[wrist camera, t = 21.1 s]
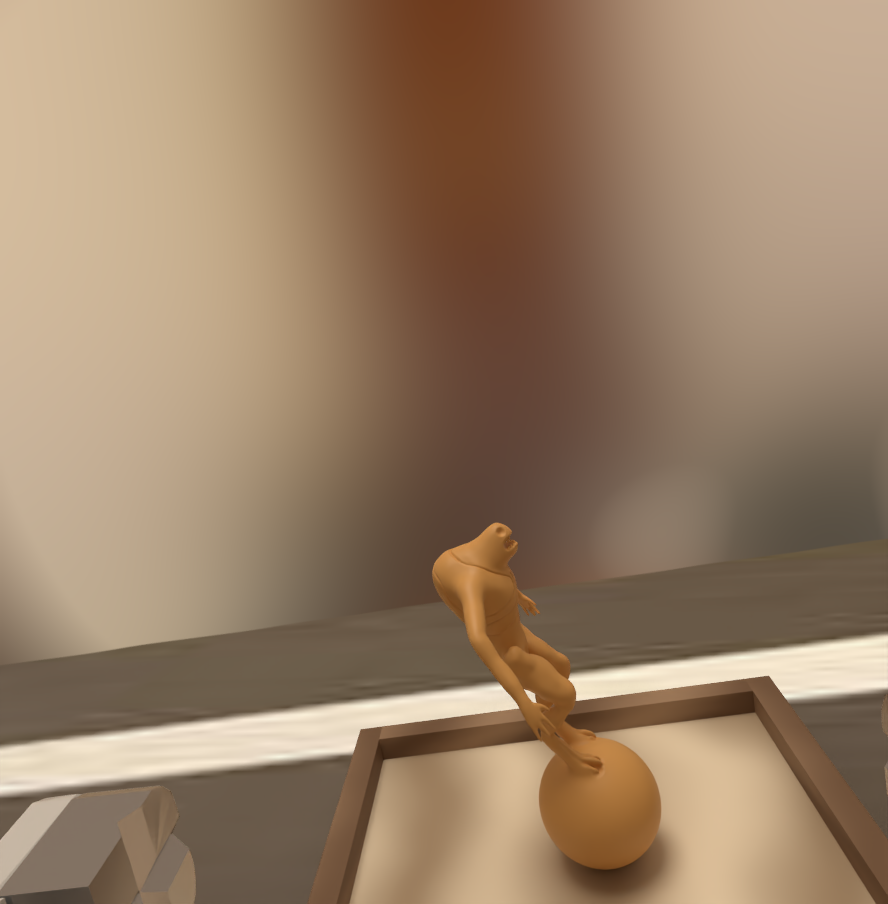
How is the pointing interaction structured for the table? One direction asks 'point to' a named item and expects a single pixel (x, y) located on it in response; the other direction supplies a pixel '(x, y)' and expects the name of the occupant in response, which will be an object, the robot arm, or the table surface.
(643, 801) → the figurine
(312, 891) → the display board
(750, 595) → the table surface
